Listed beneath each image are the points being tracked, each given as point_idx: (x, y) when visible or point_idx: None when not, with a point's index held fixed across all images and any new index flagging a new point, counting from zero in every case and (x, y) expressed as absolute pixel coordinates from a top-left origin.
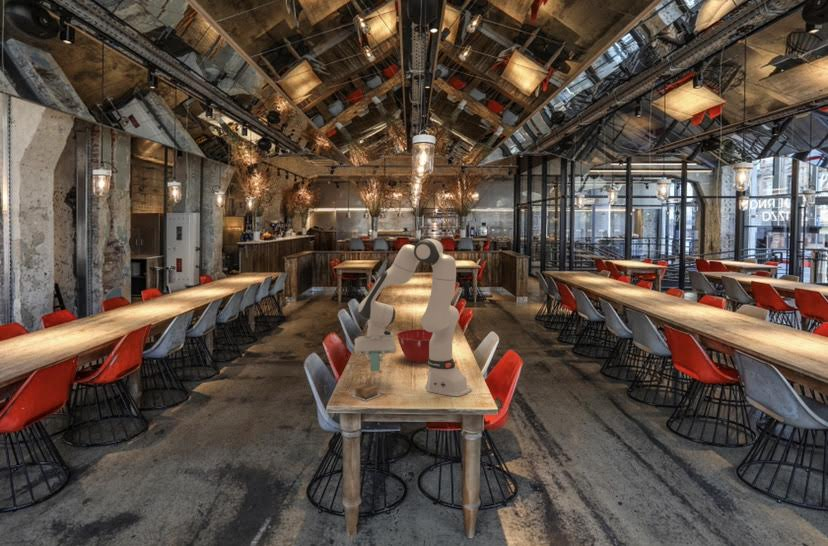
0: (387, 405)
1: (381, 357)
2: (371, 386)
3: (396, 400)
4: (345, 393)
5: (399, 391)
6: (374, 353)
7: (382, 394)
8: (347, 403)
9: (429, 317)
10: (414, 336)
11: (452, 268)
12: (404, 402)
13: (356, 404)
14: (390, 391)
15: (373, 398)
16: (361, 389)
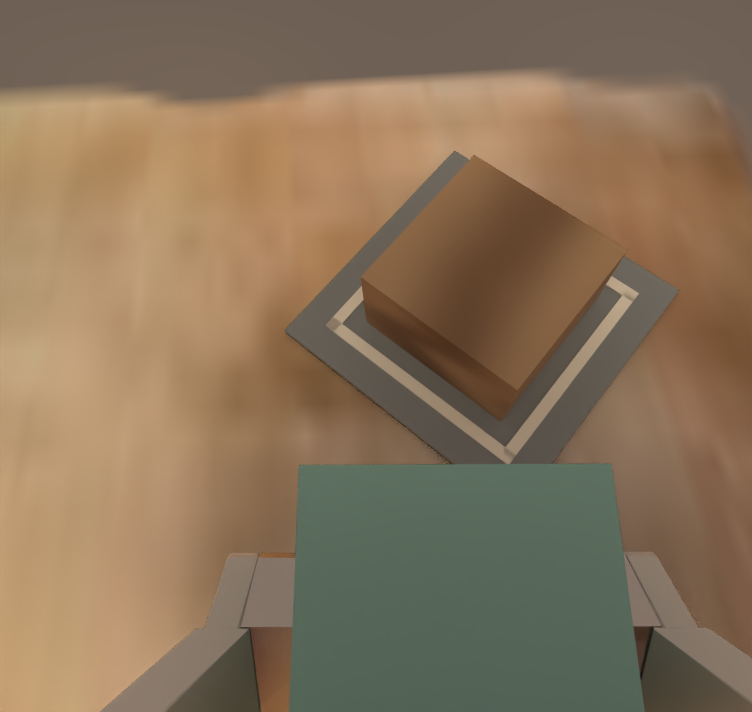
0: (258, 108)
1: (231, 589)
2: (431, 279)
3: (175, 214)
4: (736, 386)
5: (121, 467)
6: (471, 623)
7: (311, 341)
8: (619, 133)
9: None
10: None
11: None
12: (107, 173)
13: (531, 116)
14: (225, 465)
15: (395, 230)
16: (535, 197)
